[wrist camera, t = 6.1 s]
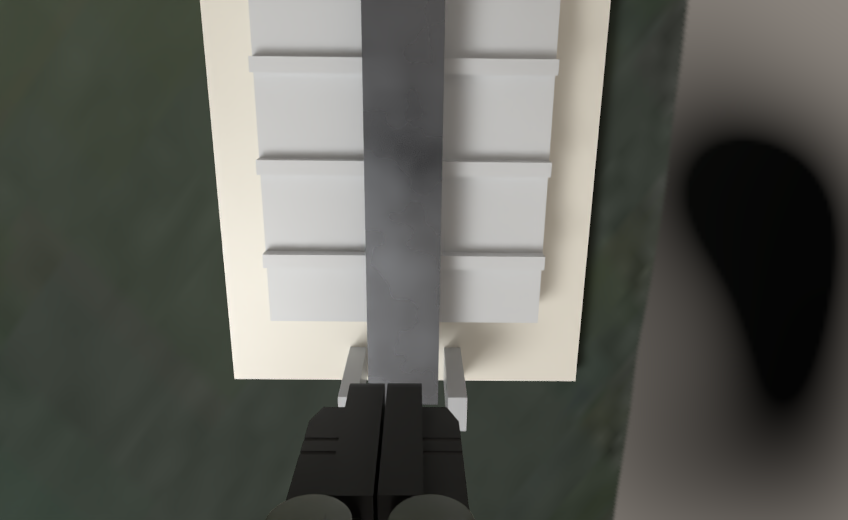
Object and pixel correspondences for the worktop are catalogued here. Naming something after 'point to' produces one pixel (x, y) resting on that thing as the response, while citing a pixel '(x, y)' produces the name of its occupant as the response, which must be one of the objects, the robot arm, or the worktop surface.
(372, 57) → the strap
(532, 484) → the worktop surface
